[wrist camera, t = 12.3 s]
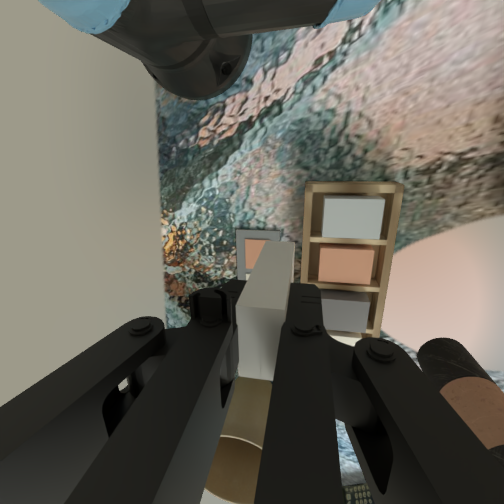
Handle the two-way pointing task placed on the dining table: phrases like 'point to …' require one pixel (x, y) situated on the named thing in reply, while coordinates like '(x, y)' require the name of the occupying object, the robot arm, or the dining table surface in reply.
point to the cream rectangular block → (345, 336)
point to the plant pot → (241, 443)
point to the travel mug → (466, 390)
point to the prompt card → (251, 248)
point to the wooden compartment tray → (353, 240)
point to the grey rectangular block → (345, 310)
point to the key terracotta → (345, 263)
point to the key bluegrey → (352, 216)
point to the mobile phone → (357, 494)
